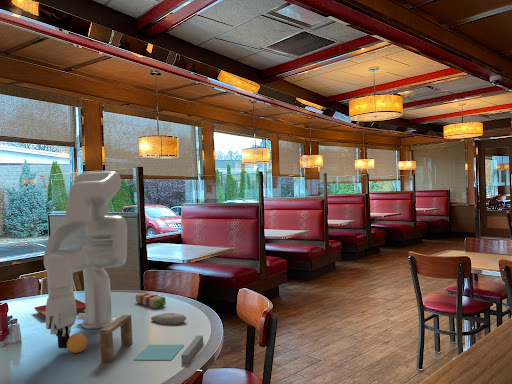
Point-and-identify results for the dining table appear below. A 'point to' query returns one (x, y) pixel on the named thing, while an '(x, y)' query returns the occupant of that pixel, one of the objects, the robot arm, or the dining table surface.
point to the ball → (76, 343)
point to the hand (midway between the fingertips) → (64, 347)
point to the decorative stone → (169, 318)
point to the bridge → (107, 336)
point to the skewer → (150, 300)
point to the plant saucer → (79, 307)
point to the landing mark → (159, 352)
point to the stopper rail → (191, 349)
